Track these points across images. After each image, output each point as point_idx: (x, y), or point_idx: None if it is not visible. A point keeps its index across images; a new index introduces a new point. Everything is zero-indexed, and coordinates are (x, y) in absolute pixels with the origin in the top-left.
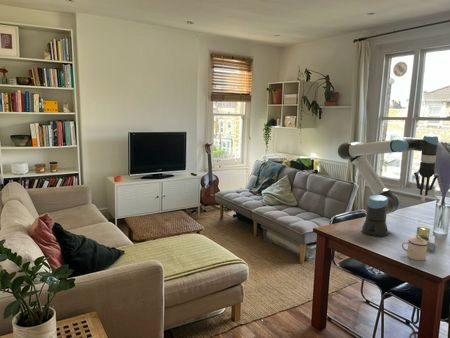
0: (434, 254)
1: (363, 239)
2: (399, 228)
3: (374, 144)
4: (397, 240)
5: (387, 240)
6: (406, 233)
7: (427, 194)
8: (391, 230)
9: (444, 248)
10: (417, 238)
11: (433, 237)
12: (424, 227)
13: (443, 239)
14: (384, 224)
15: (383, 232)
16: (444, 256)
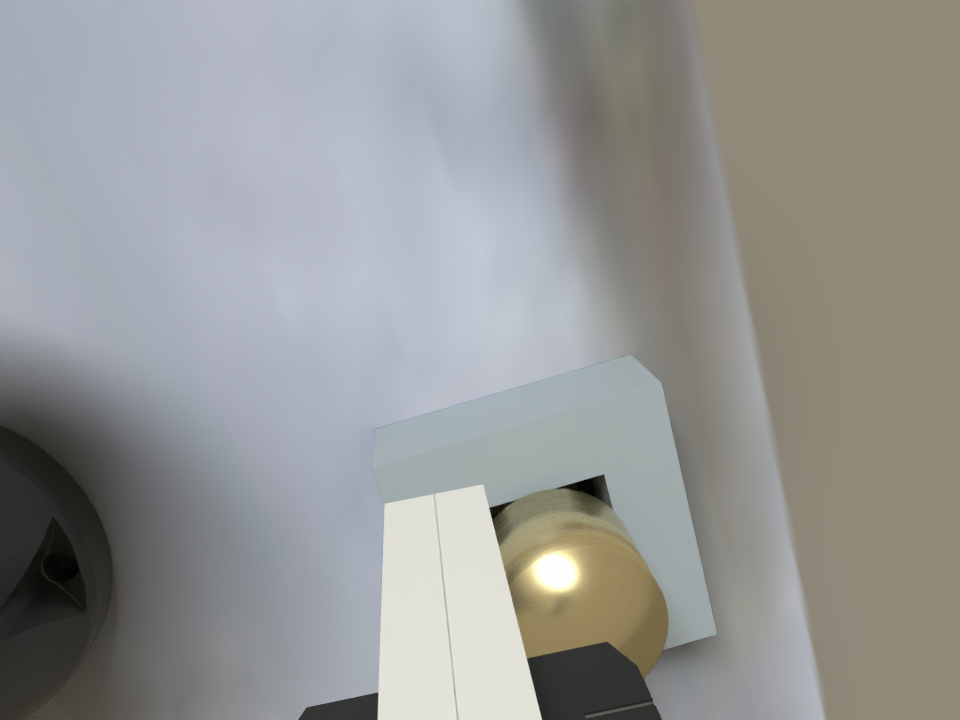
0: (714, 658)
1: None
2: (53, 100)
3: None
4: (283, 595)
5: (205, 685)
6: (236, 249)
7: (645, 696)
8: (31, 299)
9: (757, 410)
10: None
11: (657, 439)
12: (573, 570)
13: (681, 77)
14: (2, 670)
15: (79, 652)
16: (799, 630)
